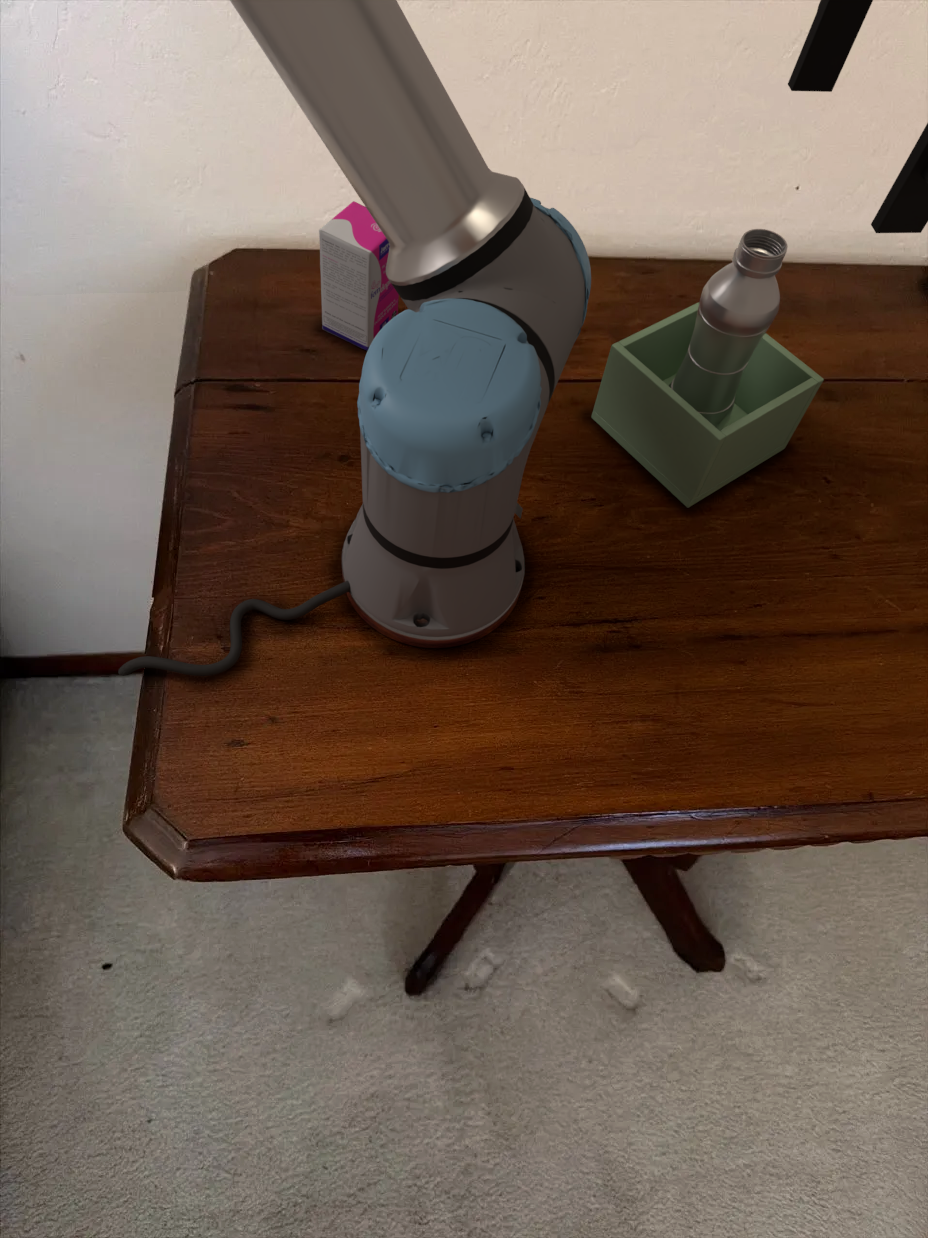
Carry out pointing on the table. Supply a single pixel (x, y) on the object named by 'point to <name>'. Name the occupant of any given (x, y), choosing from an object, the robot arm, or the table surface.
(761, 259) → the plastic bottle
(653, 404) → the green open box
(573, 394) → the table surface
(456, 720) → the table surface
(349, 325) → the supplement box
